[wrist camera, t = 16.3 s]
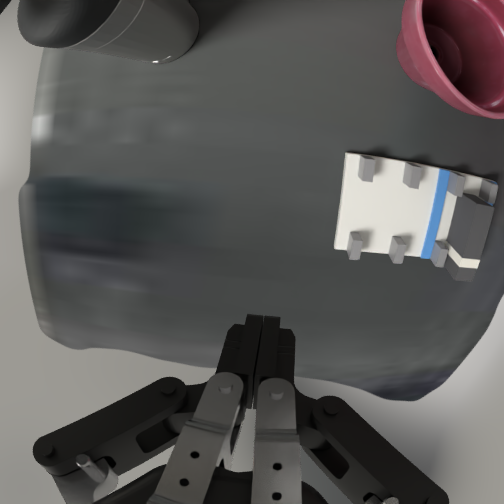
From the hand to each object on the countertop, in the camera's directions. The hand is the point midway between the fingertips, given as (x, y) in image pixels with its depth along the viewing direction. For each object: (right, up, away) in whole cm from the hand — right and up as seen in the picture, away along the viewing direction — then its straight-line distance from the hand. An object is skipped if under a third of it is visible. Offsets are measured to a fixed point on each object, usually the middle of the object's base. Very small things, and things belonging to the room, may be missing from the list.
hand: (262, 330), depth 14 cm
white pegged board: (+21, +9, +21) cm, 31 cm away
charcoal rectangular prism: (+27, +7, +20) cm, 34 cm away
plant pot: (+21, +27, +12) cm, 36 cm away
